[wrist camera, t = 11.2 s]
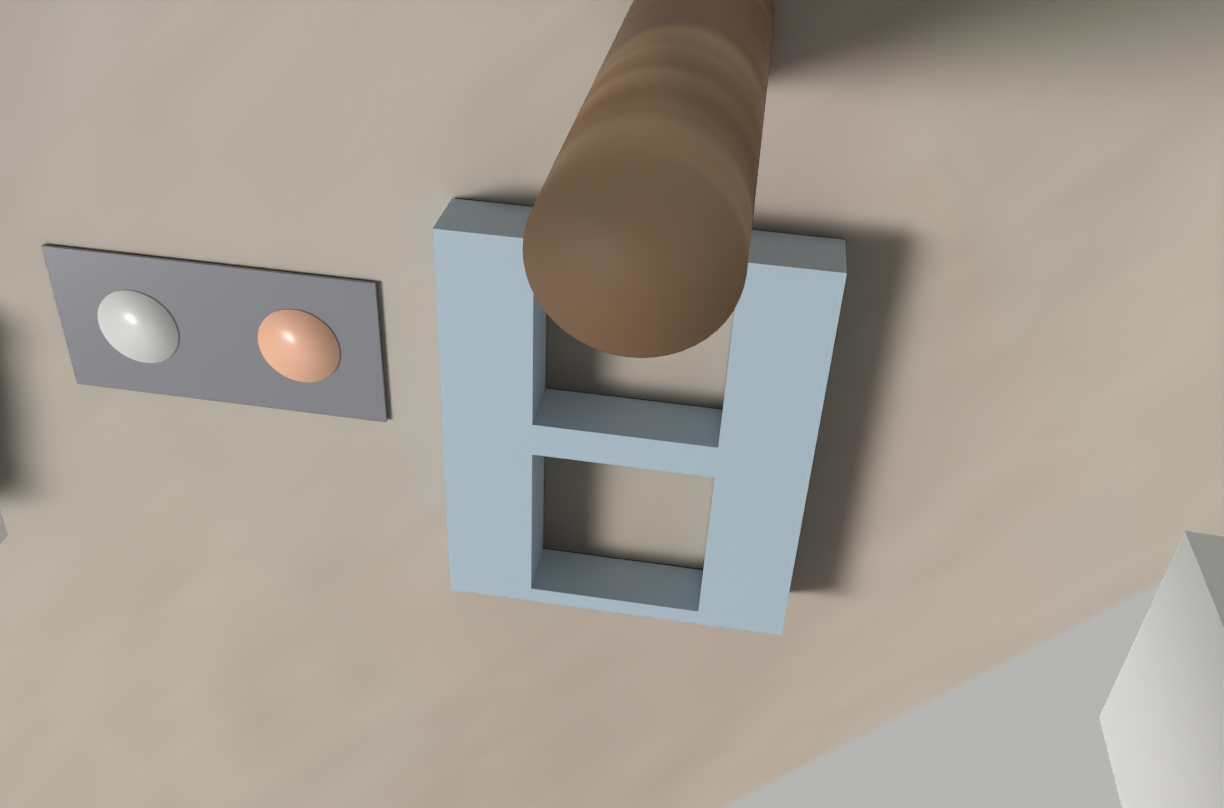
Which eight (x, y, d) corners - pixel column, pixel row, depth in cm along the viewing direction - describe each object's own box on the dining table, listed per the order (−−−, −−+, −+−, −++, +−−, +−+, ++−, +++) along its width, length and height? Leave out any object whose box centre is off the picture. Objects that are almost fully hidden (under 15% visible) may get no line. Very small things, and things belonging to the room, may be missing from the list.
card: (43, 244, 32) (40, 246, 32) (376, 282, 31) (374, 284, 31) (78, 381, 35) (76, 384, 35) (387, 420, 34) (386, 423, 34)
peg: (636, -59, 25) (522, 142, 15) (782, -47, 25) (760, 165, 15) (629, 83, 27) (522, 344, 17) (765, 96, 27) (735, 369, 17)
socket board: (451, 198, 29) (432, 228, 28) (845, 239, 28) (846, 273, 27) (465, 550, 36) (449, 589, 35) (782, 592, 35) (781, 635, 34)
